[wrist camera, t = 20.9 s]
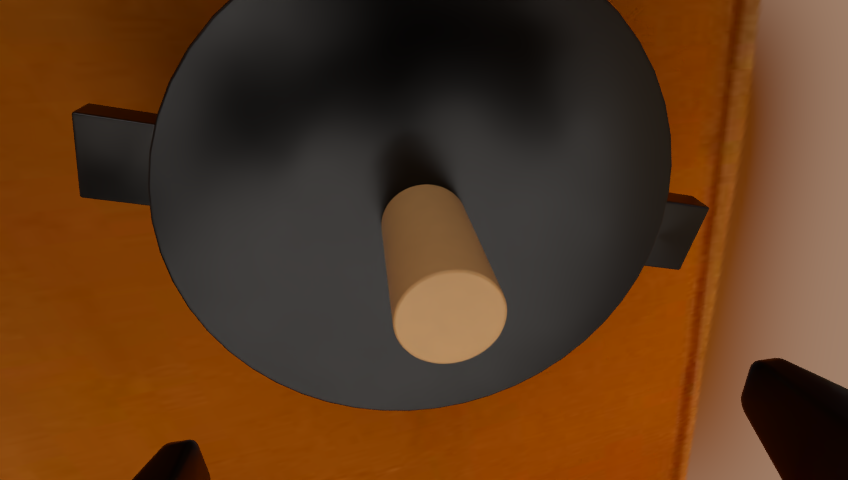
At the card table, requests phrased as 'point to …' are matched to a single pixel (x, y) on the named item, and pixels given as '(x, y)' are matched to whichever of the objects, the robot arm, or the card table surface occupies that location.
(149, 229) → the card table surface
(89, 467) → the card table surface
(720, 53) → the card table surface
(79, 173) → the saucepan
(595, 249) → the saucepan lid
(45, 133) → the card table surface
